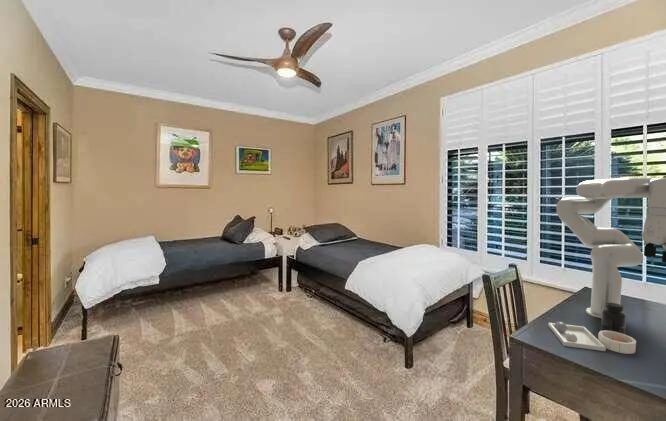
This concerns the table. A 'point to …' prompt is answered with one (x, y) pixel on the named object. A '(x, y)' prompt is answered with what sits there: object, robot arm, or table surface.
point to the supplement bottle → (613, 318)
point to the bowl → (615, 345)
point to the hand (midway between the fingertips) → (658, 259)
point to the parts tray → (578, 337)
